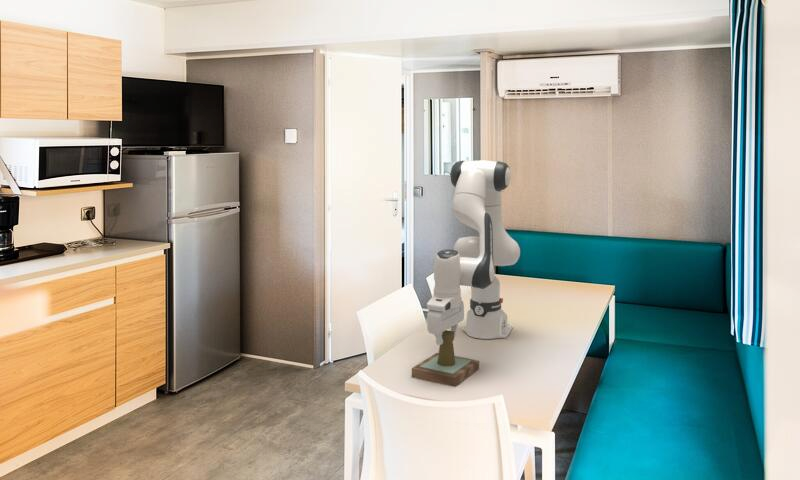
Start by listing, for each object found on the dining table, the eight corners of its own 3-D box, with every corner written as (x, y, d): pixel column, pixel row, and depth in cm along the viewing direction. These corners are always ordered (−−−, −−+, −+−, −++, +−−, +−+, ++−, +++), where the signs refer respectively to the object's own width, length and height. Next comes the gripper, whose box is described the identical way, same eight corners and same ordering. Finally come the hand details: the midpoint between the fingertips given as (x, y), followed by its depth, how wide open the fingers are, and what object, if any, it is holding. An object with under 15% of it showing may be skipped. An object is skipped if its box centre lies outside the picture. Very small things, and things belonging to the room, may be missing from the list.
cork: (454, 359, 220) (454, 328, 218) (456, 366, 214) (456, 334, 212) (436, 360, 220) (436, 328, 218) (438, 366, 214) (438, 334, 212)
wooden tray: (437, 360, 229) (437, 351, 228) (479, 369, 221) (479, 359, 220) (411, 376, 213) (411, 367, 213) (455, 386, 205) (455, 376, 205)
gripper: (452, 291, 223) (451, 330, 226) (423, 305, 206) (423, 347, 208) (469, 294, 220) (468, 333, 222) (441, 308, 203) (441, 350, 205)
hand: (446, 340), depth 215 cm, fingers open, 8 cm apart
